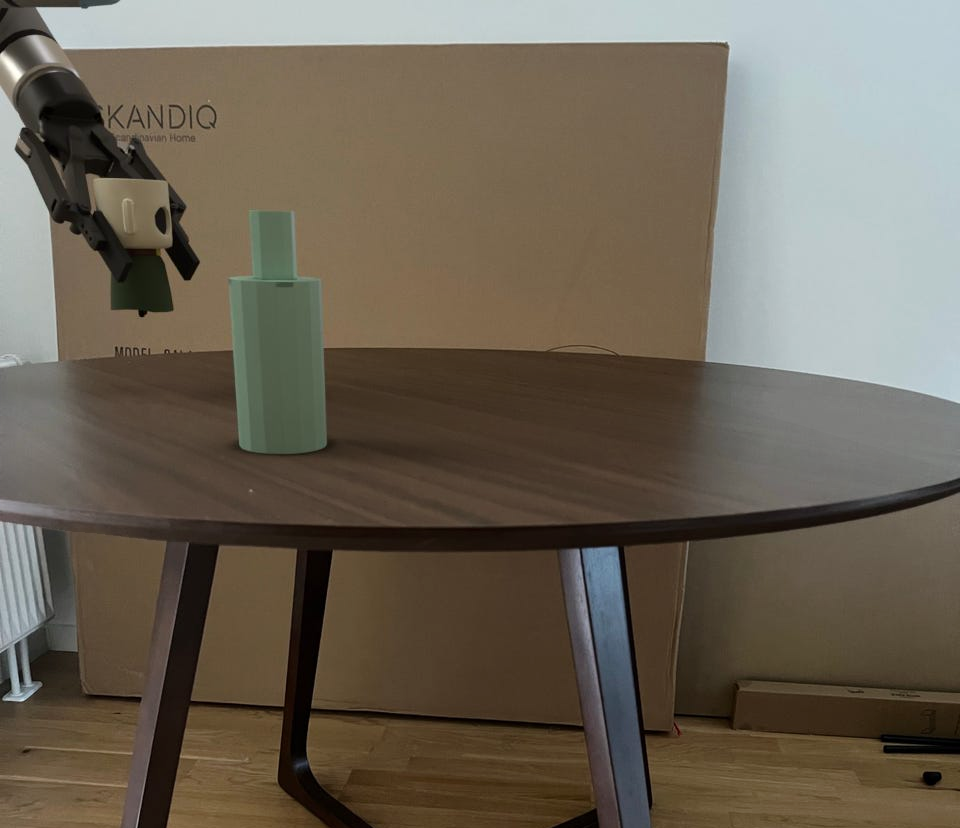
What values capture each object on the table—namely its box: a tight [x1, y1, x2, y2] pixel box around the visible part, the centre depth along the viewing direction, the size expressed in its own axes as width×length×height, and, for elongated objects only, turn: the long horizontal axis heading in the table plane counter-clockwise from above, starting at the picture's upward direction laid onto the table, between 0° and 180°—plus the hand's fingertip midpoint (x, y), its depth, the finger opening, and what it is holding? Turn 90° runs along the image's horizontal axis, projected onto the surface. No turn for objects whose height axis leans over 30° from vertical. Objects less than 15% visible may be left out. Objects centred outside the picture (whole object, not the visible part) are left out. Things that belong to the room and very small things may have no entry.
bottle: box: [227, 209, 328, 455], centre depth 84 cm, size 7×7×19 cm
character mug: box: [92, 177, 175, 318], centre depth 105 cm, size 11×7×13 cm, turn 12°
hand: (159, 271), depth 103 cm, fingers closed on character mug, 7 cm apart
